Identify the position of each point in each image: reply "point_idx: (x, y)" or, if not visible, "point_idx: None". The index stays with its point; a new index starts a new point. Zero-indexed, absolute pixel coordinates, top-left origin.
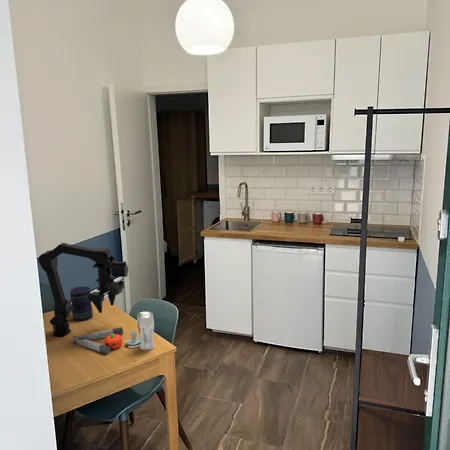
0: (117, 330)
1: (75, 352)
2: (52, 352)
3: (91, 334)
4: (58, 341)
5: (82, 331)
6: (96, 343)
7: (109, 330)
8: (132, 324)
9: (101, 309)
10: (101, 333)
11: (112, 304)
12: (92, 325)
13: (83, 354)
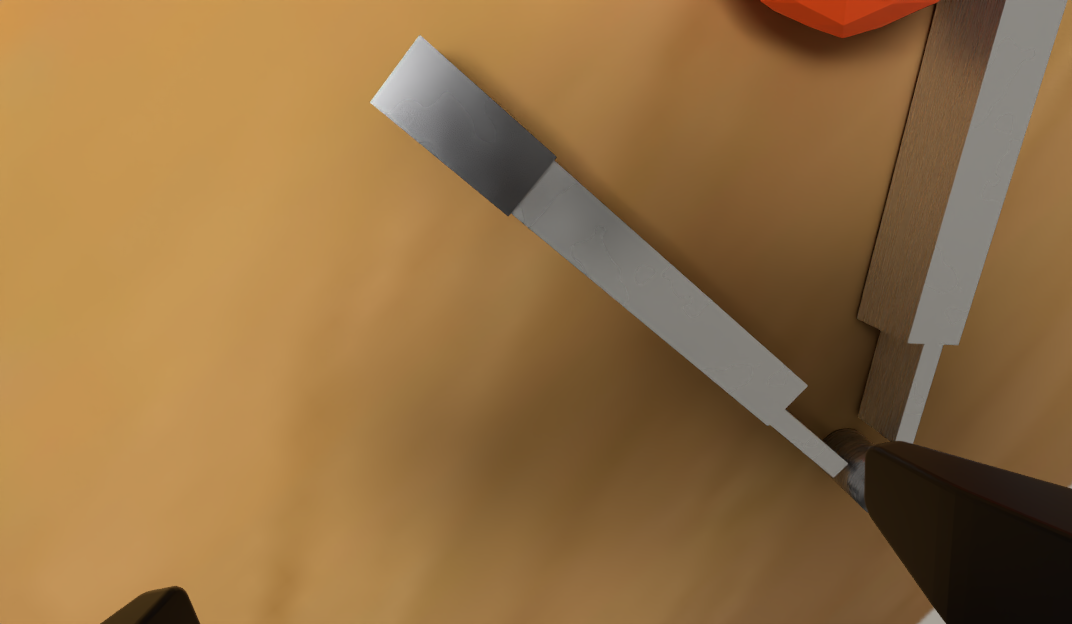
0: (496, 106)
1: (1037, 278)
2: (1069, 481)
3: (773, 367)
4: (864, 605)
5: (597, 585)
6: (996, 85)
7: (566, 224)
8: (66, 161)
9: (1028, 492)
10: (682, 274)
11: (169, 615)
12: (424, 610)
13: (1067, 153)
